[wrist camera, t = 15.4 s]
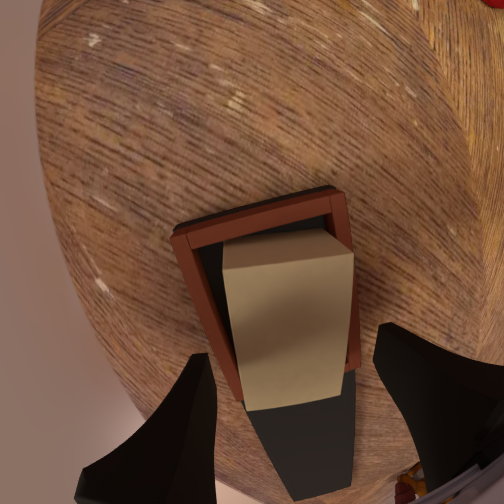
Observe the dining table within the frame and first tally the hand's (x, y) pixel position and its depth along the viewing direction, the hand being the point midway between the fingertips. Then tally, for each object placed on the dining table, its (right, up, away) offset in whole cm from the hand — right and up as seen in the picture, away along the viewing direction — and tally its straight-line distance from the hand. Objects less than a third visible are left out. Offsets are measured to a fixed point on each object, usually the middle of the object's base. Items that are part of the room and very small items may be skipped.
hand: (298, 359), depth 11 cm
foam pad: (0, +2, +4) cm, 5 cm away
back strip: (+3, -11, +10) cm, 16 cm away
